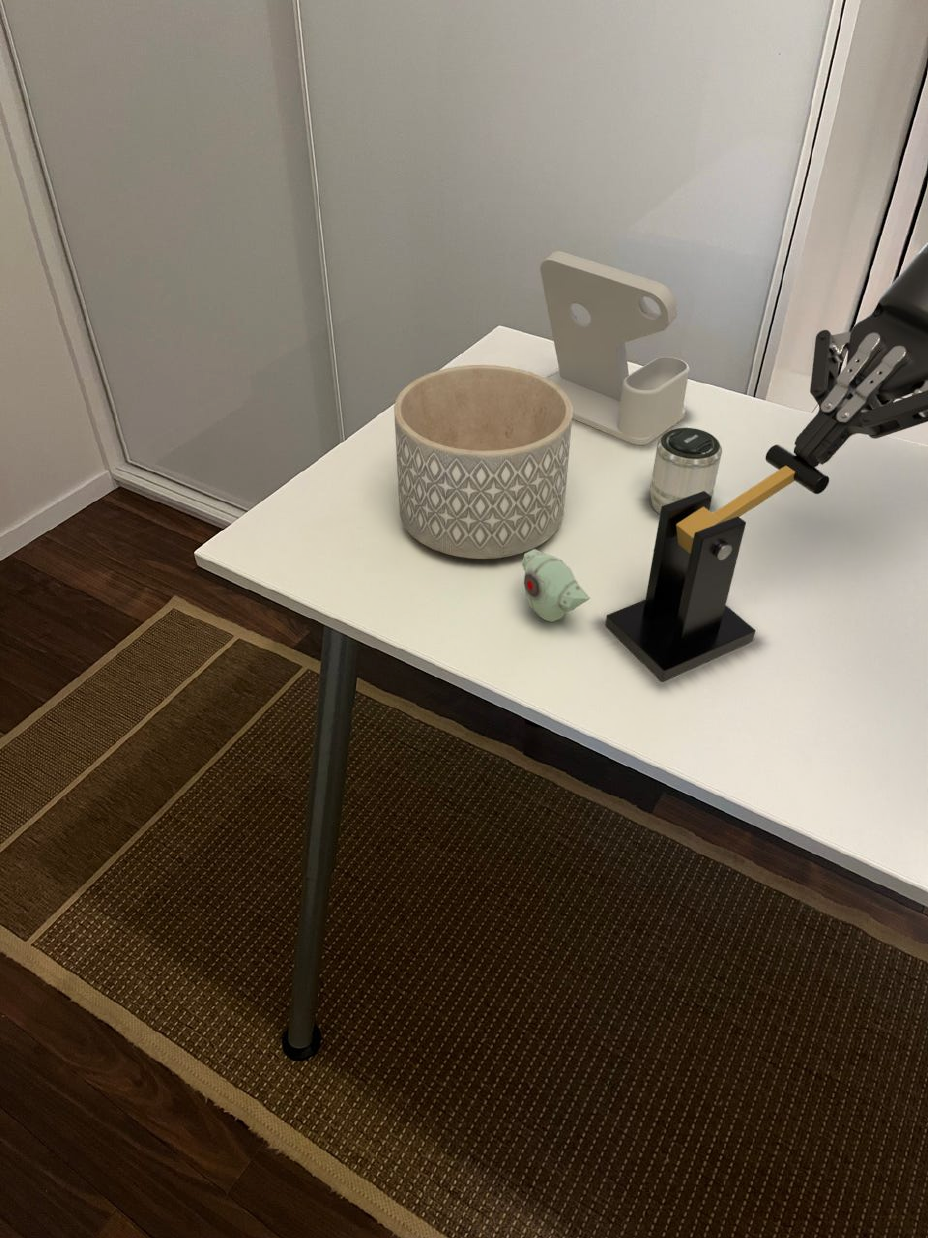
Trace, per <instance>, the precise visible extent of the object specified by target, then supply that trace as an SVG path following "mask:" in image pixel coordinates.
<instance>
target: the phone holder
mask: <svg viewBox="0 0 928 1238" xmlns="http://www.w3.org/2000/svg"><path fill="white" fill-rule="evenodd" d="M539 271H540V272H539V273H540V277H541V282H542V286H543V287H542V288H543V291H544V292H543V293H544V298H545V302H546V303H545V304H546V307H547V314H548V318H549V323H550V329H551V334H552V339H553V345H554V349H555V355H556V359H557V365H558V370H559V371H557V372H556V373H554V374H553V375H551V376H549V377H547V378H546V379H548V380H550V381H551V382H553V383H554V384H556V385H557V386H558V387H560V388H561V389H562V390H563V391H564V392H565V393H566V395H567V396H568V398H569V399H570V401H571V405H572V414H573V415H572V420H576V421H577V422H580V423H582V424H584V425H587V426H589V427H592V428H594V429H597V430H598V431H601V432H604V433H606V434H608V435H611V436H613V437H616V438H617V439H620V440H623V441H625V442H627V443H630V444H632V445H636V446H644V445H648V444H650V443H651V442H653V441H654V440H655V439H657V438H658V437H659V436H662V434H665V433H666V432H667V431H669V429H671V428H672V427H673V426H675V425H676V424H677V423H679V422H680V421H682V420H683V419H684V418H685V416H686V407H685V406H684V404H685V399H686V398H685V397H686V393H687V386H688V382H689V381H688V380H689V375H690V365H689V364H688V363H687V362H686V361H685V360H682V359H680V358H678V357H674V356H673V357H672V356H661V357H657V358H654V359H653V360H651V361H649V362H648V363H646V364H644V365H643V366H641V367H639V369H636V370H635V371H634V372H632V373H629V364H628V358H627V357H628V356H627V346H626V343H629V342H631V341H635V340H637V339H641V338H644V337H648V336H650V335H653V334H657V333H660V332H663V331H665V330H666V329H667V328H668V327H669V326H670V325H671V324H672V323H673V321H675V319H676V318H677V315H678V305H677V300H676V297H675V295H674V293H673V292H672V291H671V289H669V288H668V287H667V286H666V285H665V284H663V283H661V282H659V281H656V280H652V279H649V278H646V277H643V276H639V275H637V274H634V273H631V272H628V271H624V270H621V269H618V268H615V267H612V266H608V265H606V264H603V263H599V262H596V261H592V260H589V259H586V258H583V257H581V256H577V255H573V254H570V253H568V252H564V251H561V250H555V251H552V252H551V253H550V254H549V255H548V256H547V257H546V258H545V259H544V260H543V261H542V262H541V264H540V266H539ZM644 297H645V298H649V299H651V300H652V301H654V302H655V303H656V304H657V306H658V308H659V311H660V312H657V311H656V310H654V309H652V307H650V306H649V305H648V304H647V303H646V301H645V299H644ZM573 304H577V305H579V306H581V307H583V308H584V309H585V310H586V311H587V313H588V315H589V317H590V322H589V323H583V322H581V321H579V320H578V317H577V315H576V314H575V312H574V309H573Z"/></svg>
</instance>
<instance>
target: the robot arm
mask: <svg viewBox="0 0 928 1238" xmlns="http://www.w3.org/2000/svg"><path fill="white" fill-rule="evenodd" d="M814 340H815V342H814V350H813V359H812V368H811V369H812V370H811V378H810V386H809V387H810V388H809V392H810V394H811V396H812V397H813V399H814V401H815V402H816V403H817V405H818V411H817V413H816V415H814V417H813V418H812V419H811V420H810V421H809V423H808V424H807V425H806V426H805V427H804V428H803V430H802V431H801V432H800V433H799V434H798V435H797V436H796V438H795V441H794V445H795V446H794V448H793V454H794V455H796V456H798V457H799V458H801V459H802V460H804V461H805V462H807V463H808V464H810V465H811V466H813V467H815V468H817V467H818V466H819V465H821V466H823V465H824V464H827V462H830V460H831V459H832V458H833V456H834V455H835V454H836V453H837V452H838V451H839V450H840V448H842V446H843V445H844V444H845V443H846V442H847V440H848V439H849V438H850V437H852V436H854V435H857V434H860V435H866V436H868V437H869V438H871V439H872V440H876V439H880V438H882V437H886V436H889V435H892V434H895V433H898V432H901V431H904V430H907V429H911V428H913V427H916V426H919V425H921V424H924V423H927V422H928V242H926V244H924V245H923V247H922V248H921V249H920V251H919V252H918V253H917V254H916V255H915V256H914V257H913V258H912V260H911V261H910V263H908V264H907V266H905V268H904V269H903V270H902V272H900V274H899V275H898V276H897V277H896V279H895V280H894V281H893V282H892V284H890V285H889V287H888V288H887V289H886V291H884V293H883V294H882V295H881V297H880V298H879V300H878V301H877V304H876V306H875V308H874V310H873V311H872V313H871V314H869V315H868V316H866V317H865V318H864V319H862V320H860V321H859V322H857V323H856V324H854V325H853V327H852V329H851V331H846V332H841V333H836V334H832V333H831V332H830V331H829V330H828V329H823V330H819V332H818V333H817V334H816V336H815V339H814ZM846 356H847V357H846ZM845 358H846V362H845V363H846V364H845V366H844V368H843V369H842V371H841V372H840V373H839V365H840V364H839V363H843V362H844V361H845ZM838 373H839V374H838ZM909 395H910V396H909ZM906 396H907V397H906ZM901 398H902V399H901Z"/></svg>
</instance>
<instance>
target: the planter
mask: <svg viewBox="0 0 928 1238" xmlns="http://www.w3.org/2000/svg"><path fill="white" fill-rule="evenodd" d="M393 410H394V411H393V413H394V414H393V415H394V428H395V429H394V432H395V449H396V451H395V452H396V470H397V472H396V473H397V488H398V489H397V490H398V505H399V507H398V509H399V517H400V520H401V523H402V524H403V527H404V528H405V530H406V531H407V532H408V533H409V534H410V535H411V537H412V538H414V539H415V540H417V541H418V542H419V543H421V544H423V545H424V546H426V547H428V548H430V549H432V550H434V551H437V552H439V553H442V554H445V555H450V556H453V557H459V558H465V559H475V560H489V559H492V560H493V559H501V558H508V557H513V556H516V555H520V554H523V553H527V552H529V551H531V550H533V549H536V548H537V547H539V546H541V545H542V544H544V543H545V542H546V541H548V540H550V539H551V538H552V537H553V535H554V534H556V532H557V531H558V529H559V528H560V526H561V525H562V523H563V518H564V513H565V503H566V491H567V482H568V481H567V480H568V470H569V459H570V458H569V457H570V447H571V436H572V426H573V425H572V424H573V418H572V415H573V414H572V405H571V401H570V399H569V398H568V396H567V395H566V393H565V392H564V391H563V390H562V389H561V388H560V387H558V386H557V385H556V384H554V383H553V382H551V381H550V380H548V379H547V378H546V377H544V376H542V375H540V374H537V373H534V372H531V371H529V370H524V369H520V368H516V367H511V366H505V365H496V364H468V365H460V366H459V365H458V366H453V367H447V368H443V369H440V370H435V371H432V372H429V373H428V374H425V375H422V376H420V377H419V378H417V379H414V380H413V381H412V382H411V383H409V384H407V385H406V386H405V387H404V389H402V390H401V391H400V392H399V394H398V395H397V397H396V399H395V403H394V407H393Z"/></svg>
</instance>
